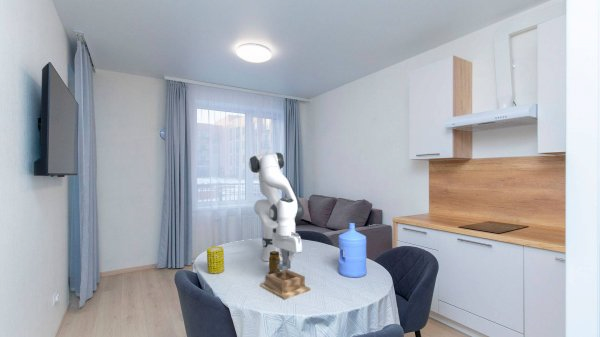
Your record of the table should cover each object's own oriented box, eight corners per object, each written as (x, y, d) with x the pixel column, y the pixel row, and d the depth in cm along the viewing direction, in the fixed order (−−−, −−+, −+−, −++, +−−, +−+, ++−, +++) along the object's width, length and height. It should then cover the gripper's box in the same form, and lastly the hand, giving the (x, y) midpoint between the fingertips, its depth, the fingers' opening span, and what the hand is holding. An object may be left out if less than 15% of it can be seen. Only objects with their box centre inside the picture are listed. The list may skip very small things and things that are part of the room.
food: (226, 271, 172) (218, 278, 162) (208, 266, 174) (199, 272, 165) (231, 247, 171) (223, 252, 161) (213, 242, 173) (204, 247, 163)
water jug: (369, 270, 168) (368, 222, 169) (363, 279, 154) (362, 227, 155) (343, 267, 175) (342, 220, 175) (335, 275, 161) (334, 225, 161)
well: (285, 278, 156) (285, 267, 156) (310, 290, 141) (310, 277, 141) (260, 286, 146) (260, 274, 146) (284, 299, 131) (284, 286, 131)
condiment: (278, 270, 169) (277, 250, 170) (283, 275, 162) (283, 253, 162) (266, 272, 166) (266, 251, 166) (271, 277, 159) (271, 255, 159)
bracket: (285, 266, 147) (285, 246, 147) (290, 268, 144) (290, 248, 144) (277, 268, 143) (277, 248, 144) (282, 270, 140) (282, 249, 141)
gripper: (305, 233, 139) (305, 262, 139) (279, 227, 155) (279, 253, 154) (294, 235, 135) (294, 264, 135) (270, 228, 151) (270, 255, 150)
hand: (286, 258), depth 145 cm, fingers closed on bracket, 4 cm apart
